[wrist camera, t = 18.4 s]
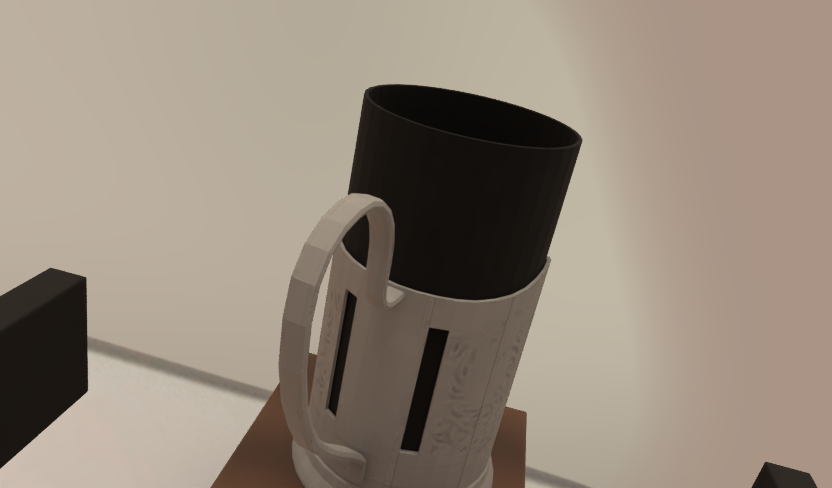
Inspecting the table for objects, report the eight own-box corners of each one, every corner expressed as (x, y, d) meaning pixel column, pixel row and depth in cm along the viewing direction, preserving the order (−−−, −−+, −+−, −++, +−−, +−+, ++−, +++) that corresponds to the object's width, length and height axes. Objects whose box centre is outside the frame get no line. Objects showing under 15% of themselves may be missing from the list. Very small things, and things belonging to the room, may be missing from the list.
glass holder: (517, 439, 30) (618, 130, 24) (377, 723, 18) (513, 236, 12) (356, 366, 33) (412, 73, 27) (139, 569, 20) (153, 111, 15)
